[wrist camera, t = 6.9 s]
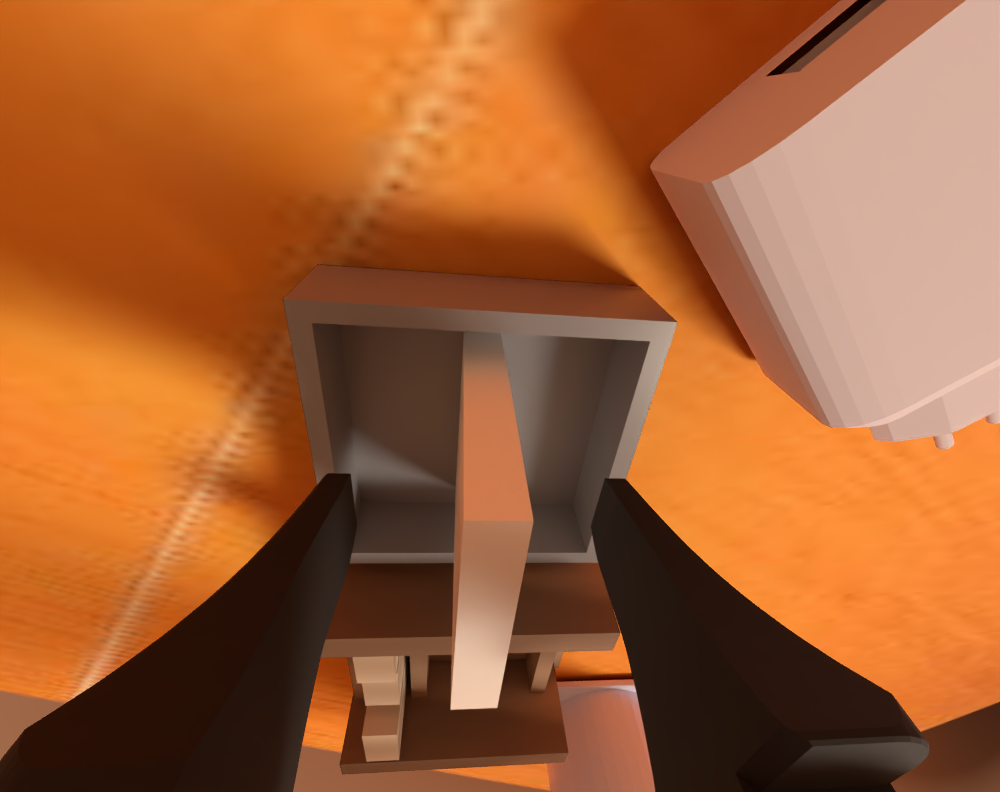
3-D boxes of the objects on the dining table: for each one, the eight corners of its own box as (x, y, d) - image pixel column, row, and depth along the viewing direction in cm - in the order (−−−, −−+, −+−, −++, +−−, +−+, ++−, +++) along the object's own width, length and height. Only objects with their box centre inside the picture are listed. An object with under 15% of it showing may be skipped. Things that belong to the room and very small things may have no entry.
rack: (555, 654, 27) (573, 761, 22) (354, 659, 25) (331, 774, 21) (596, 519, 20) (633, 632, 16) (330, 517, 19) (289, 640, 14)
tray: (581, 505, 20) (598, 562, 17) (349, 503, 18) (331, 563, 16) (639, 286, 14) (677, 322, 12) (317, 264, 13) (282, 298, 11)
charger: (803, 455, 19) (638, 164, 12) (1038, 328, 17) (992, -134, 10) (892, 542, 15) (720, 185, 8) (1221, 395, 13) (1362, -311, 6)
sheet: (484, 486, 18) (497, 707, 11) (455, 486, 18) (450, 709, 11) (500, 330, 14) (533, 520, 7) (463, 328, 14) (463, 520, 7)
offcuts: (409, 660, 24) (399, 759, 20) (382, 660, 24) (366, 761, 20) (404, 553, 19) (390, 659, 16) (370, 553, 19) (347, 660, 15)
